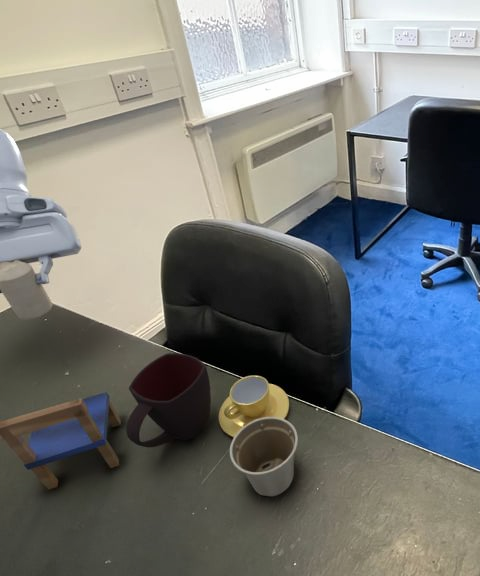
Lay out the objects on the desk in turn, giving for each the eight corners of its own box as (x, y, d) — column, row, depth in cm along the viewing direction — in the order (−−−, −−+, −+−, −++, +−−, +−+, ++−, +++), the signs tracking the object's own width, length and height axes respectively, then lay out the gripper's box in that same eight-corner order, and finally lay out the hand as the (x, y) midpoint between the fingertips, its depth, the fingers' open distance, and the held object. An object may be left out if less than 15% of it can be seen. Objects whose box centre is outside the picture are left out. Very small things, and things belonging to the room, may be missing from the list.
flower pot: (269, 441, 72) (260, 407, 67) (316, 465, 69) (310, 431, 64) (228, 489, 66) (214, 456, 61) (278, 519, 62) (268, 486, 57)
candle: (10, 315, 79) (-20, 269, 73) (40, 298, 83) (13, 253, 78) (30, 322, 78) (1, 276, 72) (60, 305, 82) (34, 259, 76)
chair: (55, 439, 73) (10, 377, 64) (122, 418, 77) (87, 357, 68) (46, 491, 66) (-7, 429, 57) (120, 466, 69) (80, 403, 60)
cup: (263, 374, 84) (257, 354, 81) (303, 408, 77) (299, 387, 74) (205, 413, 77) (197, 392, 73) (244, 453, 70) (237, 433, 67)
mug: (231, 411, 77) (214, 362, 70) (174, 480, 67) (148, 431, 60) (186, 395, 80) (166, 347, 73) (125, 459, 70) (95, 410, 63)
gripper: (-82, 220, 72) (-66, 300, 70) (62, 197, 79) (79, 270, 77) (-57, 232, 78) (-42, 306, 76) (75, 210, 85) (91, 278, 83)
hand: (20, 288), depth 77 cm, fingers closed on candle, 5 cm apart
